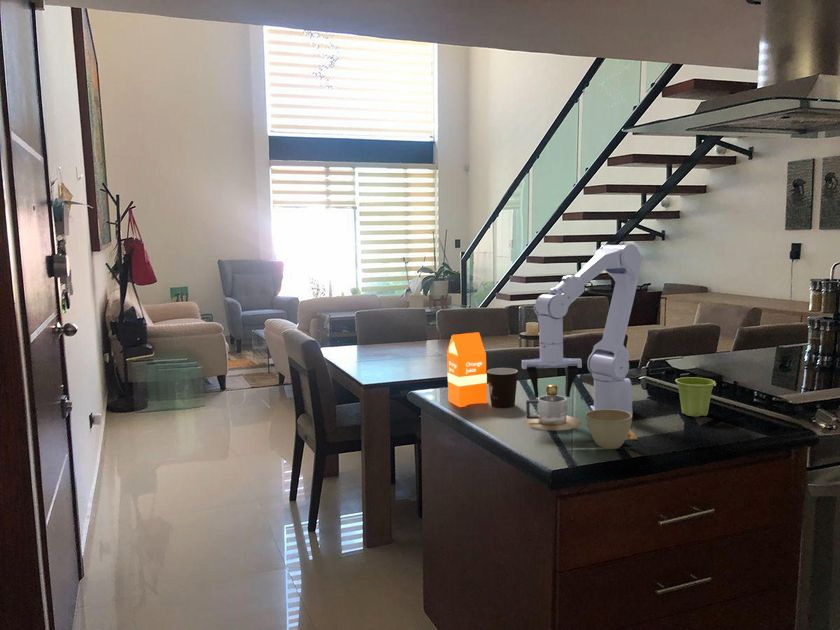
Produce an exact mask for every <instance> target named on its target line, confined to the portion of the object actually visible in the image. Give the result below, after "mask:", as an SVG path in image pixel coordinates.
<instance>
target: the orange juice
mask: <svg viewBox="0 0 840 630" xmlns="http://www.w3.org/2000/svg"><path fill="white" fill-rule="evenodd" d="M446 359H447V360H446V361H447V364H446V365H447V366H446V367H447V390H448V391H447V392H448V394H447V395H448V402H449V403H451V404H452V405H454V406H457V407H458V408H463V407H467V406H468V405H474V404H488V391H487V389H488V387H487V385H488V378H487V353H486V351H485V347H484V344H483V341H482V337H481V334H480V332H479V331H478V332H467V333H460V334H452V335H451V338H450V341H449V344H448V348H447V351H446Z"/></svg>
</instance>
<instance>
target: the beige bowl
mask: <svg viewBox="0 0 840 630" xmlns="http://www.w3.org/2000/svg"><path fill="white" fill-rule="evenodd" d="M585 421H586V425H587V427H588V430H589V433H590V434H591V438H592V439H593V440H594V443H595V444H596V446H598V447H600V449H604V450H616V449H619V448H621V447H622V446H623V445H624V443H625V441H626V439H627V438H628V437H627V435H628V433H629V430H631V427H632V422H633V414H631V413H629V412H626V411H622V410H615V409H599V410H592V409H591V410H589V411H587V412H586V413H585Z"/></svg>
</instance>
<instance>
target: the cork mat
mask: <svg viewBox="0 0 840 630" xmlns="http://www.w3.org/2000/svg"><path fill="white" fill-rule="evenodd" d="M535 416H538V414H537V415H535ZM523 422H524V424H525V425H526V426H527V427H530V428H532V429H537V430H542V431H565V430H573V429H575V428H578V427H580V426H581V424H582V421H581V420H580V419H578V418H576V417H574V416H571V415H567V423H566V424H564V425H560V426H547V425H542V424H540V423H539V422H538V419H527V418H525V419H524V420H523Z"/></svg>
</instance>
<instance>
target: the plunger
mask: <svg viewBox="0 0 840 630" xmlns="http://www.w3.org/2000/svg"><path fill="white" fill-rule="evenodd" d="M558 387H559V386H558V385H557V384H553V383H550V384H547V385H545V395H550V396H551V402H553V396H555V395H558V396H559V394H558V393H559V392H558Z"/></svg>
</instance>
